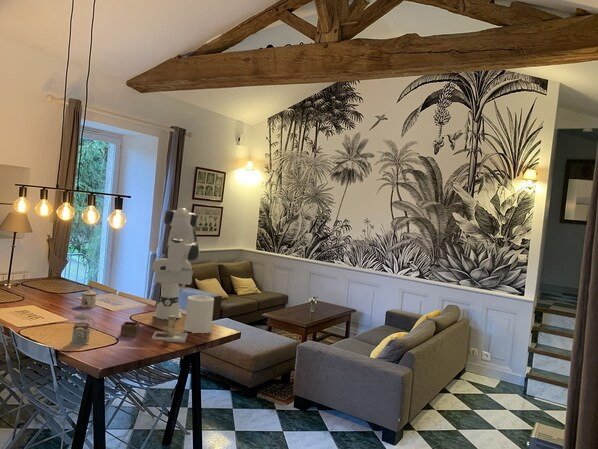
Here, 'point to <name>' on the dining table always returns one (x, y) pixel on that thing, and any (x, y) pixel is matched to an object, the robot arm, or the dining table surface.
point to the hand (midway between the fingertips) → (172, 291)
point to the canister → (199, 314)
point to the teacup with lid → (88, 299)
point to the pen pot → (129, 329)
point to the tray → (177, 338)
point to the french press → (81, 330)
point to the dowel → (171, 326)
